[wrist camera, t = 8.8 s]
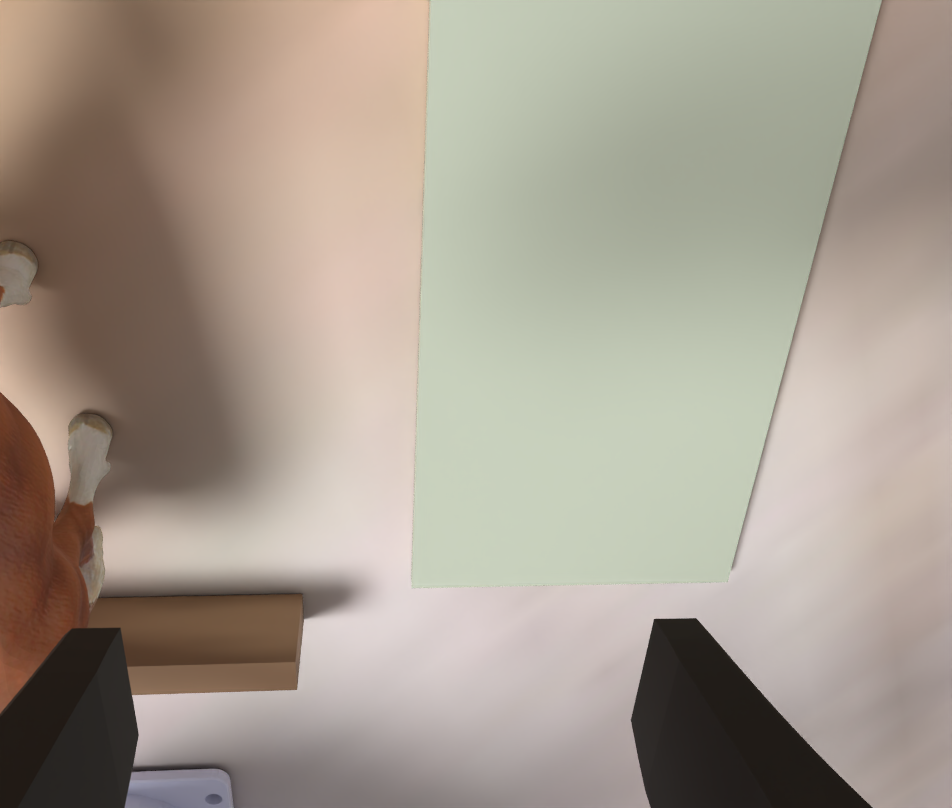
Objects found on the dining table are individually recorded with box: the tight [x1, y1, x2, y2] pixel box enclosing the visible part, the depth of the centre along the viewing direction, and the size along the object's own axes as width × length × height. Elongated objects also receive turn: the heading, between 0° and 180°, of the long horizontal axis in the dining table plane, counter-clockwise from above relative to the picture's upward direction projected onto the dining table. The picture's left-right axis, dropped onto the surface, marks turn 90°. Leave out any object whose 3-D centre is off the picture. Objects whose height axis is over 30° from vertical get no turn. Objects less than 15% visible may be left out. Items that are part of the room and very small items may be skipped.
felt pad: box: [411, 0, 882, 588], centre depth 21 cm, size 17×9×1 cm, turn 177°
